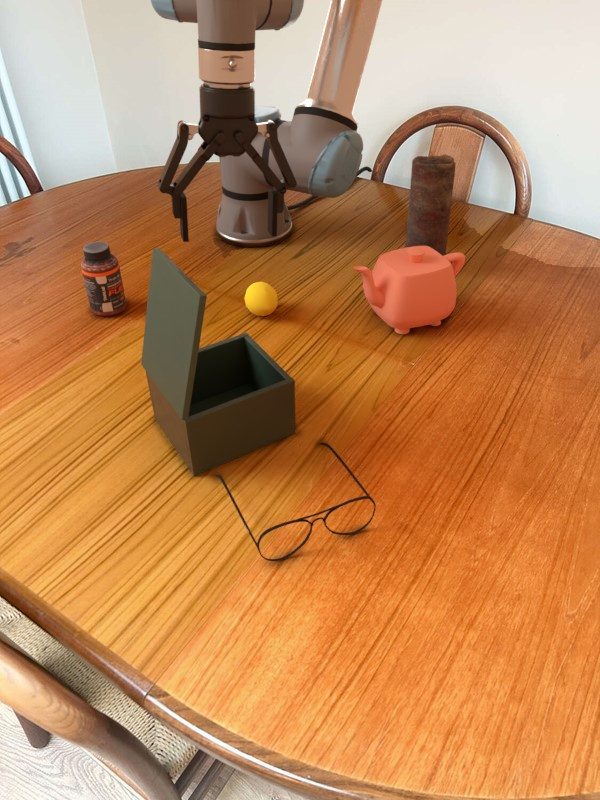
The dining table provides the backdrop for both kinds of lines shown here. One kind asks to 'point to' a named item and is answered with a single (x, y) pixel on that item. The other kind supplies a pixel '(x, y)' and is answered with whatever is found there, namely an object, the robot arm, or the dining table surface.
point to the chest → (229, 405)
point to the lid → (172, 331)
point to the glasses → (306, 516)
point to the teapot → (412, 286)
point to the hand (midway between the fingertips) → (229, 236)
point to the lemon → (261, 299)
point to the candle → (430, 202)
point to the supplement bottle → (102, 280)
